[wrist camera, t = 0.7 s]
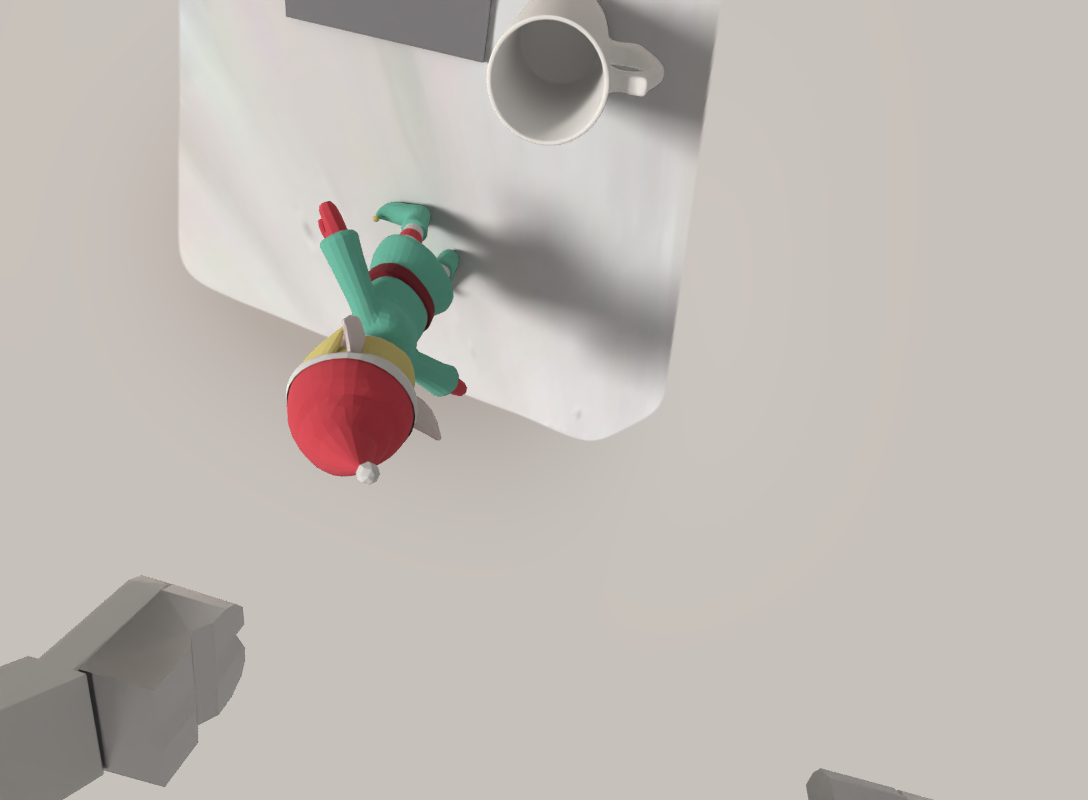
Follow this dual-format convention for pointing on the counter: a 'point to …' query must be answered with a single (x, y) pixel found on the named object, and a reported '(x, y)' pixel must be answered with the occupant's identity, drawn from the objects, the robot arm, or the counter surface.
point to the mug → (562, 70)
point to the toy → (374, 348)
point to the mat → (406, 21)
